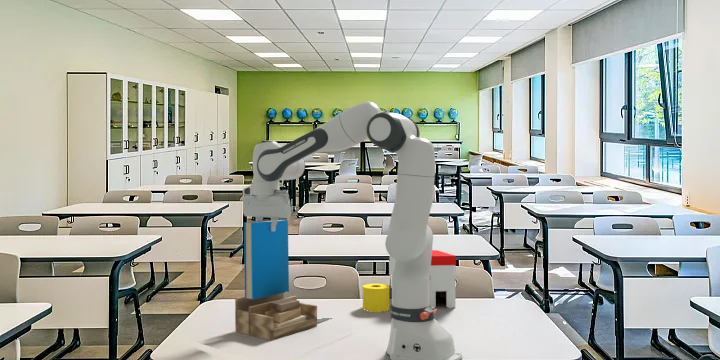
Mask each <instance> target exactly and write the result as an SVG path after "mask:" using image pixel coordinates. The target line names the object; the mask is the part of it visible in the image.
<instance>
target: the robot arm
mask: <svg viewBox="0 0 720 360" xmlns="http://www.w3.org/2000/svg"><path fill="white" fill-rule="evenodd" d="M367 139H368V140H369V141H370V142H371V143H372V144H373V145H374V146H375V147H378V149H382V150H385V151H386V152H389V153H391V154H392V153H395V154H396V156H397V159H398V160H397V162H398V163H397V164H398V165H397V174H396V175H397V177H396V185H395V198H394V202H393V203H394V204H393V208H392V212H391V216H390V222H389V225H388V230H387V231H388V232H387V235H386V238H385V244H384V245H385V250H386V251H387V253H388V255H389V257H390V256H391V257H392V258H394V259H396V261H395V267H394V273H393V276H392V290H391V304H390V309H389V310H390V322H391V323H390V324H391V325H390V326H391V327H390V333H389V340H388V345H387V348H386V354H387V355H389V359H390V360H462V358H463V352H462V351H459V350H456V349H455V341H454V338H453V335H452V334H451V333H450V332H449V331H448V330H447V329H446V328H445V327H444V326H442V325H441V323H440V322H439V321H437V319H435V315H434V314H436V313H438V312H437V311H438V309H437V308H434V309H433V308H431V306H430V305H429V275H430V267H431V257H432V250H433V244H434V243H433V242H434V233H433V230H432V228H431V227H430V226H429V217H430V214H431V209H432V206H433V198H434V189H435V177H436V153H435V147H434V145H433V143H432V142H431V141H430V140H429V139H427V138H423V137H420V129H419V126H418V124H417V123H416V122H415V120H413V119H412V118H410V117H408V116H405V115H402V114H400V113H397V112H390V111H383V112H382V110H381V108H380V107H379V106H378V105H377V104H376V103H374V102H372V101H368V100H367V101H363V102H361V103H357V104H354V105H352V106H351V107H349V108H346V109H345V110H344V111H342V112H340V113H338V114H337V115H335V116H333V117H332V118H330V119H329V120H327V121H325V122H324V123H323V124H321V125H319V126H317V127H316V128H314V129H313V130H310V131H309V132H307V133H306V134H303V135H301V136H299V137H298V138H296V139H294V140H291V141H290V142H288V143H286V144H284V145H283V146H281V145H280V144H279V143H278V142H277V141H274V140H268V141H261V142H258V143H257V144H256V145H255V146H254V148H253V152H252V171H253V177H252V184H251V185H249V186H247V187H243V189H242V194H243V199H242V214H243V216H244V217H250V218H251V217H253V218H255V222H258V221H264V218H268V219H269V218H270V221H272V223H271V226H269V231H275V230H276V224H277V222H278V220H279V219H289V218H290V217H291V215H292V207H291V200H290V195H289V193H288V192H287V191H286V190H285V189H282V190H281V189H280V181H290V180H292V181H293V180H295V179H296V180H297V179H299V178H300V177H302V175H304V172H305V169H306V161H305V158H307V157H310V156H311V155H314V154H320V153H331V152H333V153H334V152H342V151H345V150H348V149H350V148H351V149H352V148H353V147H355V146H357V145H358V144H360V143H362V142H363V141H365V140H367Z"/></svg>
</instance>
